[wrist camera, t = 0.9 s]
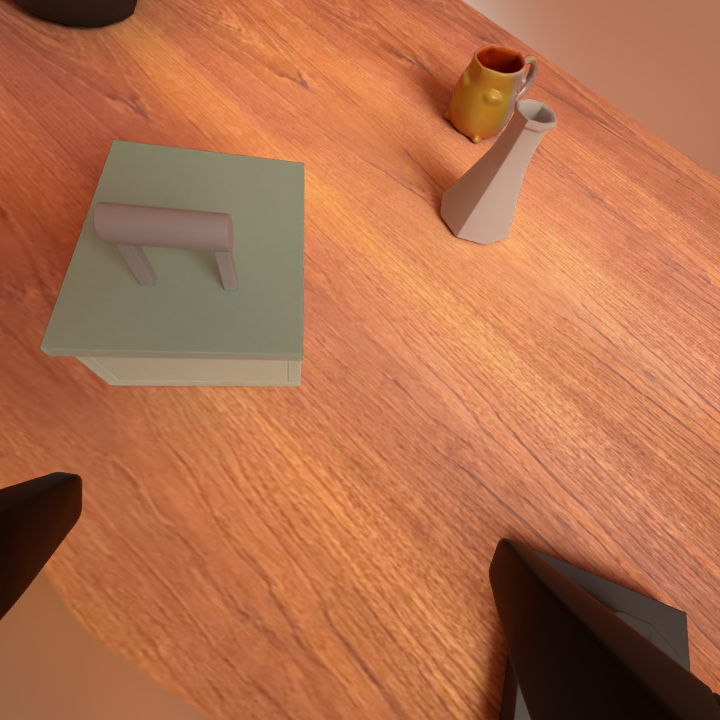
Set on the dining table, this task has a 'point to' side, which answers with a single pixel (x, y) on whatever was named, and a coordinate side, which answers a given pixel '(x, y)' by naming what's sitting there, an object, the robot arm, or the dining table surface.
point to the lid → (186, 260)
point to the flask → (497, 178)
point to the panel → (632, 607)
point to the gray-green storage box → (194, 371)
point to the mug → (490, 91)
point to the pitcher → (80, 10)
